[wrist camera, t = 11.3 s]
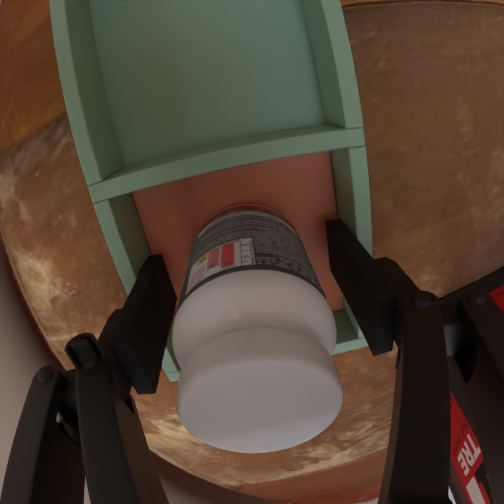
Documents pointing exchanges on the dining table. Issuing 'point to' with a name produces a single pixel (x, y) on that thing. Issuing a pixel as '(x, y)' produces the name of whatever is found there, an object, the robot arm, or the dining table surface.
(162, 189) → the divided tray
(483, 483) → the cleaning product box
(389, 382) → the dining table surface
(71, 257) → the dining table surface
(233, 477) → the dining table surface
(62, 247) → the dining table surface
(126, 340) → the robot arm
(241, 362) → the pill bottle
